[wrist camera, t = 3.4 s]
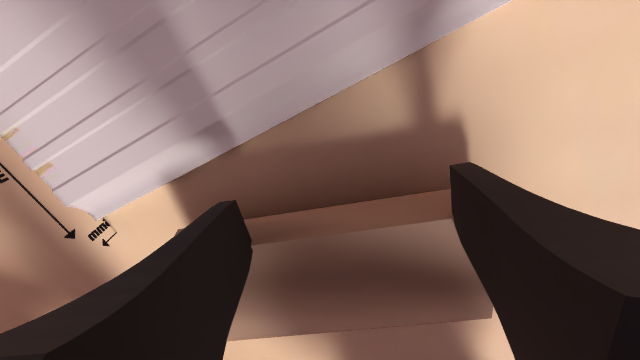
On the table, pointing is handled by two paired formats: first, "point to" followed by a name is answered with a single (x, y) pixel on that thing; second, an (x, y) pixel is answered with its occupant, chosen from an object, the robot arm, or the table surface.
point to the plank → (358, 269)
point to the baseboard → (183, 80)
